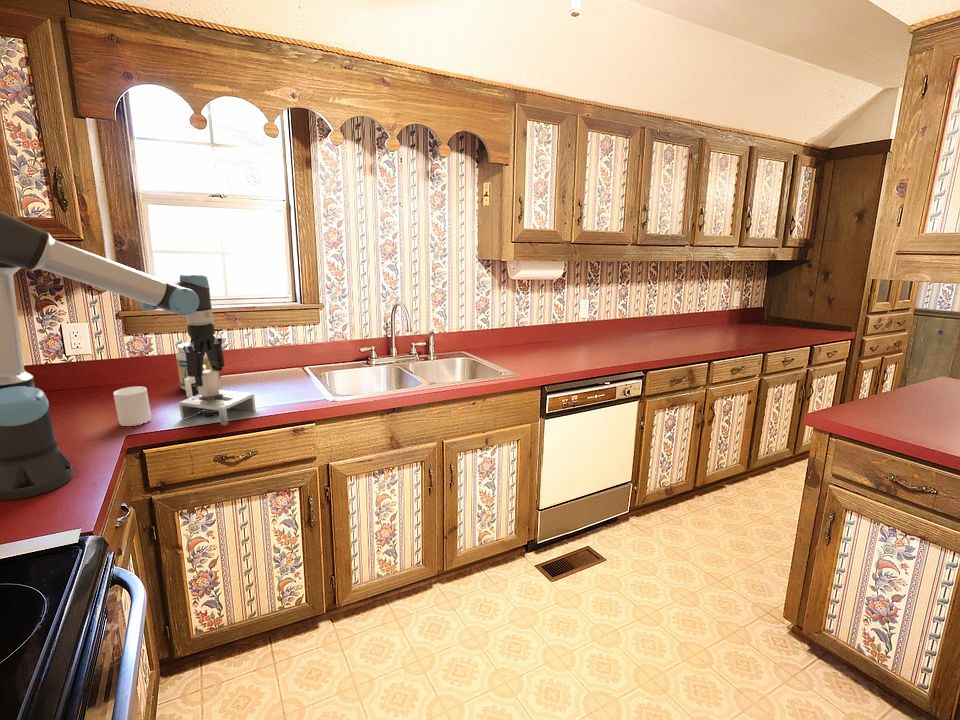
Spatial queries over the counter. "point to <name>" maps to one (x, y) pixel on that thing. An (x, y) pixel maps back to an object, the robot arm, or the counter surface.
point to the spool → (211, 386)
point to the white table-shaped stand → (218, 404)
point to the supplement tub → (183, 363)
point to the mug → (132, 406)
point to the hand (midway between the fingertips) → (210, 392)
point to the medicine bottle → (191, 385)
